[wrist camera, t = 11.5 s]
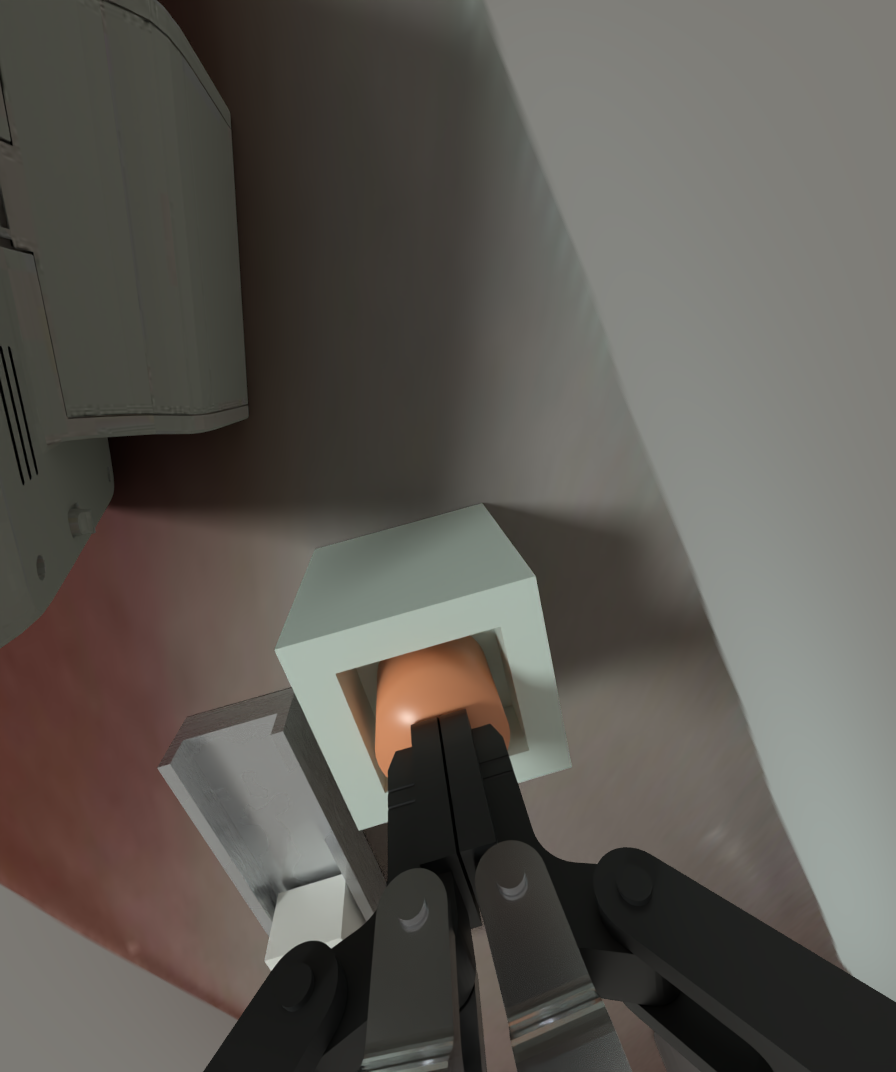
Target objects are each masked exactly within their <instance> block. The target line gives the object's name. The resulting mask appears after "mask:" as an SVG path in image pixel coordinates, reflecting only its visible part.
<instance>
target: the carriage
mask: <svg viewBox="0 0 896 1072" xmlns="http://www.w3.org/2000/svg"><path fill="white" fill-rule="evenodd" d="M365 923H366V920H365V918H364V916H363V914H362V912H361V910H360V908H359V906H358V904H357V902H356V900H355V898H354V896H353V895H352V893H351V891H350V889H349V887H348V885H347V883H346V881H345V879H344V877H343V875H342V874H341V875H338V876H334V877H331V878H328V879H324V880H321V881H318V882H314V883H311V884H308V885H305V886H301V887H298V888H295V889H291V890H288V891H285V892H281V893H278V898H277V903H276V908H275V912H274V917H273V922H272V927H271V932H270V937H269V941H268V946H267V951H266V956H265V963H266V964H267V966H268V967H269V969H270V970H271V971H272V970H273V968H274V967H275V965H276V964H277V963H278V961H279V960H280V959H281V958H282V957H283V956H284V955H285V954H286V953H287V952H288V951H290V950H291V949H292V948H294V947H295V946H297V945H299V944H301V943H303V942H307V941H321V942H323V943H325V944H327V945H328V946H329V947H330V948H333V947H334V946H335V945H337V944H338V943H339V942H341V941H342V940H344V939H345V938H346V937H348V936H349V935H351V934H352V933H353V932H355V931H356V930H357V929H359V928H360V927H361V926H362V925H364V924H365Z"/></svg>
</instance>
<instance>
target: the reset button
mask: <svg viewBox="0 0 896 1072" xmlns="http://www.w3.org/2000/svg"><path fill="white" fill-rule="evenodd" d="M462 709H466V711H467V714H468V718H469V721H470V725H471V728H472V729H473V728H477V727H480V726H484V725H487V724H491V725H492V726H493V727H494V728H495V729H496V730H497V731H498V732H499V733H500V734H501V735H502V736H503V738H504V741H505V745H506V748H507V750H508V747H509V742H510V728H509V723H508V721H507V718H506V715H505V712H504V709H503V706H502V703H501V700H500V698H499V695H498V692H497V689H496V686H495V683H494V680H493V677H492V675H491V672H490V669H489V666H488V663H487V660H486V657H485V654H484V652H483V650H482V648H481V646H480V645H479V644H478V642H477V641H476V640H475V639H474V638H473V637H471V636H470V635H469V636H466V637H462V638H459V639H455V640H452V641H448V642H445V643H441V644H438V645H434V646H431V647H427V648H424V649H420V650H417V651H413V652H410V653H406V654H403V655H399V656H396V657H392V658H389V659H385V660H382V661H380V662H379V665H378V670H377V699H376V733H375V754H376V759H377V762H378V765H379V767H380V769H381V770H382V772H383V773H384V774H385V776H386V777H387V778H388V769H389V766H390V764H391V761H392V759H393V756H394V754H395V751H399V750H402V749H405V748H409V747H412V744H411V724H414V723H418V722H421V721H425V720H428V719H432V718H435V717H438V719H439V722H440V716H442V715H445V714H448V713H452V712H455V711H459V710H462Z"/></svg>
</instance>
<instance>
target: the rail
mask: <svg viewBox="0 0 896 1072" xmlns="http://www.w3.org/2000/svg"><path fill="white" fill-rule="evenodd" d="M157 768H158V770H159V771H160V773H161V774H162V776H163V777H164V779H165V780H166V782H167V783H168V785H169V786H170V788H171V789H172V791H173V792H174V794H175V795H176V797H177V798H178V800H179V801H180V803H181V804H182V806H183V808H184V809H185V811H186V812H187V814H188V815H189V817H190V818H191V820H192V821H193V823H194V824H195V826H196V827H197V829H198V830H199V832H200V833H201V835H202V836H203V838H204V839H205V841H206V842H207V844H208V845H209V847H210V848H211V850H212V851H213V853H214V854H215V856H216V857H217V859H218V860H219V862H220V863H221V865H222V866H223V868H224V869H225V871H226V872H227V874H228V875H229V877H230V879H231V880H232V882H233V883H234V885H235V886H236V888H237V889H238V891H239V892H240V894H241V895H242V897H243V898H244V900H245V901H246V903H247V904H248V906H249V907H250V909H251V910H252V912H253V913H254V915H255V916H256V918H257V919H258V921H259V922H260V924H261V925H262V927H263V928H264V930H265V931H266V933H267V934H268V936H269V937H270V932H271V927H272V922H273V917H274V912H275V908H276V903H277V898H278V893H281V892H285V891H288V890H291V889H295V888H298V887H301V886H305V885H308V884H311V883H314V882H318V881H321V880H324V879H328V878H331V877H334V876H338V875H341V874H342V875H343V877H344V879H345V881H346V883H347V885H348V887H349V889H350V891H351V893H352V895H353V896H354V898H355V900H356V902H357V904H358V906H359V908H360V910H361V912H362V914H363V916H364V918H365V920H366V922H367V921H368V920H369V919H370V918H371V916H372V915H373V914H374V912H375V911H376V909H377V907H378V903H379V900H380V898H381V896H382V893H383V892H384V890H385V889H386V886H387V883H386V880H385V878H384V876H383V874H382V872H381V870H380V867H379V865H378V863H377V861H376V859H375V857H374V854H373V852H372V850H371V848H370V846H369V844H368V841H367V839H366V837H365V835H364V833H363V831H362V830H360V831H359V830H358V828H357V826H356V824H355V822H354V819H353V817H352V815H351V813H350V811H349V809H348V807H347V804H346V802H345V800H344V798H343V796H342V794H341V792H340V789H339V787H338V785H337V783H336V781H335V779H334V777H333V774H332V772H331V770H330V768H329V766H328V764H327V762H326V759H325V757H324V755H323V753H322V751H321V749H320V747H319V744H318V742H317V740H316V738H315V736H314V734H313V732H312V729H311V727H310V725H309V723H308V721H307V719H306V717H305V714H304V712H303V710H302V708H301V706H300V704H299V702H298V699H297V697H296V695H295V693H294V691H293V689H292V688H288V689H285V690H281V691H278V692H274V693H271V694H267V695H264V696H260V697H257V698H253V699H250V700H246V701H243V702H239V703H236V704H232V705H229V706H225V707H222V708H218V709H215V710H211V711H208V712H204V713H201V714H197V715H194V716H190V717H187V718H186V719H185V721H184V722H183V724H182V726H181V727H180V729H179V731H178V733H177V734H176V736H175V738H174V740H173V741H172V743H171V745H170V746H169V748H168V750H167V752H166V753H165V755H164V757H163V759H162V760H161V762H160V764H159V765H158V767H157Z"/></svg>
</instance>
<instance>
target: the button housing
mask: <svg viewBox="0 0 896 1072" xmlns="http://www.w3.org/2000/svg"><path fill="white" fill-rule="evenodd" d="M469 635H470V636H471V637H473V638H474V639H475V640H476V641H477V642H478V644H479V645H480V646H481V648H482V650H483V652H484V654H485V657H486V660H487V663H488V666H489V669H490V672H491V675H492V677H493V680H494V683H495V686H496V689H497V692H498V695H499V698H500V700H501V703H502V706H503V709H504V712H505V715H506V718H507V721H508V723H509V728H510V742H509V747H508V750H507V751H508V754H509V757H510V760H511V763H512V767H513V770H514V773H515V776H516V779H517V782H518V783H520V782H524V781H527V780H530V779H534V778H537V777H540V776H544V775H547V774H550V773H554V772H557V771H560V770H564V769H567V768H570V767H572V764H571V759H570V754H569V749H568V743H567V738H566V733H565V728H564V722H563V717H562V712H561V707H560V701H559V696H558V691H557V686H556V680H555V675H554V670H553V665H552V659H551V654H550V649H549V644H548V638H547V633H546V628H545V623H544V617H543V612H542V607H541V602H540V597H539V591H538V586H537V581H536V576H535V575H534V573H533V572H532V570H531V569H530V568H529V566H528V565H527V564H526V562H525V561H524V559H523V558H522V557H521V555H520V554H519V553H518V551H517V550H516V549H515V547H514V546H513V544H512V543H511V542H510V540H509V539H508V538H507V536H506V535H505V534H504V532H503V531H502V529H501V528H500V527H499V525H498V524H497V523H496V521H495V520H494V519H493V517H492V516H491V514H490V513H489V512H488V510H487V509H486V508H485V506H484V505H483V503H481V504H477V505H473V506H470V507H466V508H463V509H459V510H455V511H452V512H448V513H444V514H441V515H437V516H433V517H430V518H426V519H423V520H419V521H415V522H412V523H408V524H404V525H401V526H397V527H394V528H390V529H386V530H383V531H379V532H375V533H372V534H368V535H364V536H361V537H357V538H354V539H350V540H346V541H343V542H339V543H335V544H332V545H328V546H325V547H321V548H317V549H315V550H314V553H313V555H312V558H311V560H310V563H309V565H308V568H307V570H306V573H305V575H304V577H303V580H302V582H301V585H300V587H299V590H298V592H297V595H296V597H295V600H294V602H293V605H292V607H291V610H290V612H289V615H288V617H287V620H286V622H285V625H284V627H283V630H282V632H281V635H280V637H279V640H278V642H277V645H276V647H275V649H274V650H275V652H276V654H277V657H278V659H279V661H280V663H281V665H282V667H283V669H284V672H285V674H286V676H287V678H288V680H289V682H290V684H291V687H292V689H293V691H294V693H295V695H296V697H297V699H298V702H299V704H300V706H301V708H302V710H303V712H304V714H305V717H306V719H307V721H308V723H309V725H310V727H311V729H312V732H313V734H314V736H315V738H316V740H317V742H318V744H319V747H320V749H321V751H322V753H323V755H324V757H325V759H326V762H327V764H328V766H329V768H330V770H331V772H332V774H333V777H334V779H335V781H336V783H337V785H338V787H339V789H340V792H341V794H342V796H343V798H344V800H345V802H346V804H347V807H348V809H349V811H350V813H351V815H352V817H353V819H354V822H355V824H356V826H357V828H358V830H359V831H360V830H363V829H366V828H370V827H373V826H376V825H380V824H383V823H386V822H388V778H387V777H386V776H385V774H384V773H383V772H382V770H381V769H380V767H379V765H378V762H377V759H376V754H375V733H376V699H377V670H378V665H379V662H380V661H382V660H385V659H389V658H392V657H396V656H399V655H403V654H406V653H410V652H413V651H417V650H420V649H424V648H427V647H431V646H434V645H438V644H441V643H445V642H448V641H452V640H455V639H459V638H462V637H466V636H469Z"/></svg>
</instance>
